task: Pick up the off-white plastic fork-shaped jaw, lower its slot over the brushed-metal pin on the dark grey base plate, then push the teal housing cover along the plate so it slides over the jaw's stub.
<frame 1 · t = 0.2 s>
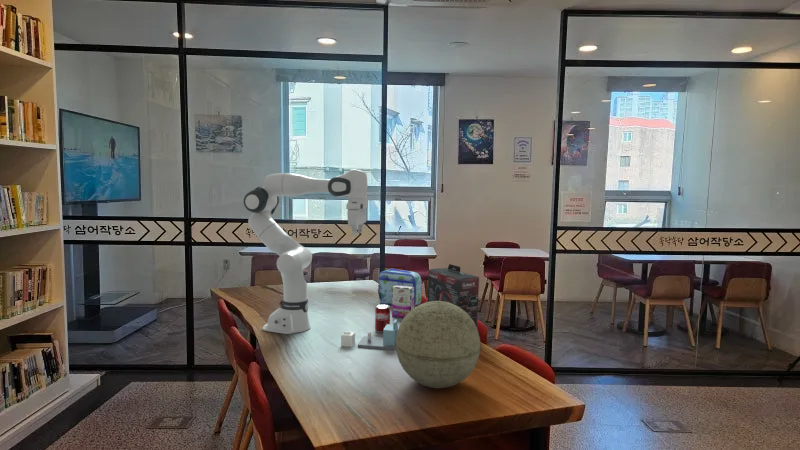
hand: (357, 234, 214), 47 cm above the table, fingers open, 8 cm apart
soda can: (382, 330, 223), on the table
candy bar box: (402, 317, 246), on the table
jaw: (348, 344, 203), on the table
plate: (378, 344, 204), on the table
headset box: (451, 333, 220), on the table
cover: (390, 331, 202), point 6 cm above the table, slide at 0.0 cm
lunch box: (398, 305, 270), on the table
celestial globe: (436, 384, 165), on the table
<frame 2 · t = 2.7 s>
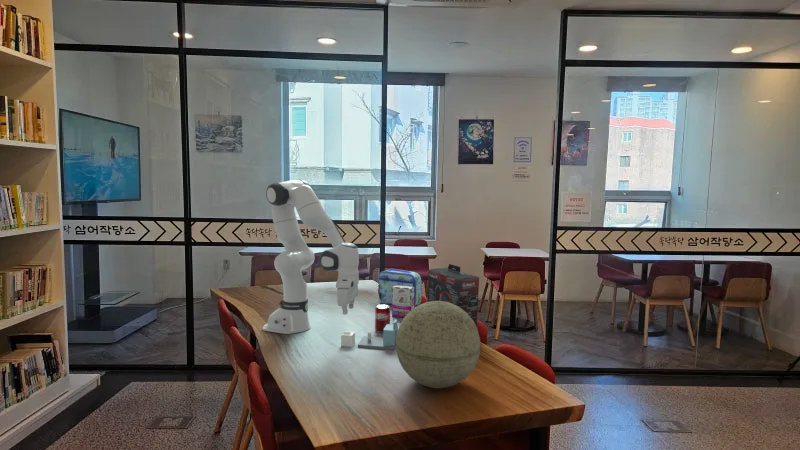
hand: (348, 311, 202), 15 cm above the table, fingers open, 8 cm apart
nothing on the table moved.
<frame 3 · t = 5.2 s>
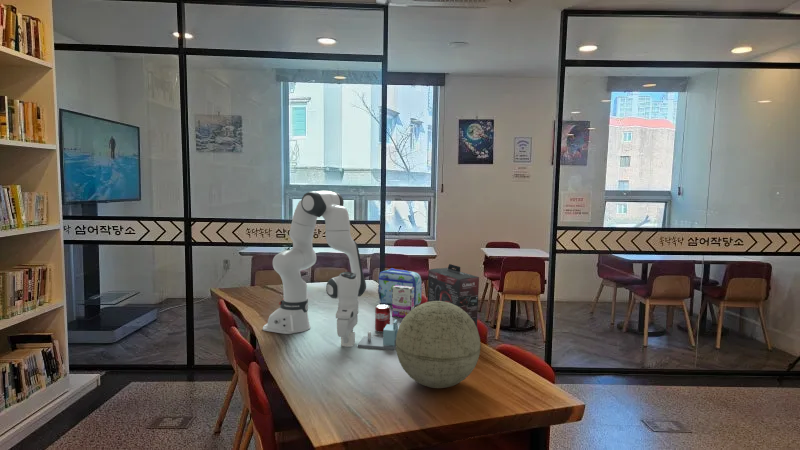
hand: (348, 340, 203), 2 cm above the table, fingers closed on jaw, 5 cm apart
jaw: (348, 344, 203), on the table, touching gripper
everything else where it was.
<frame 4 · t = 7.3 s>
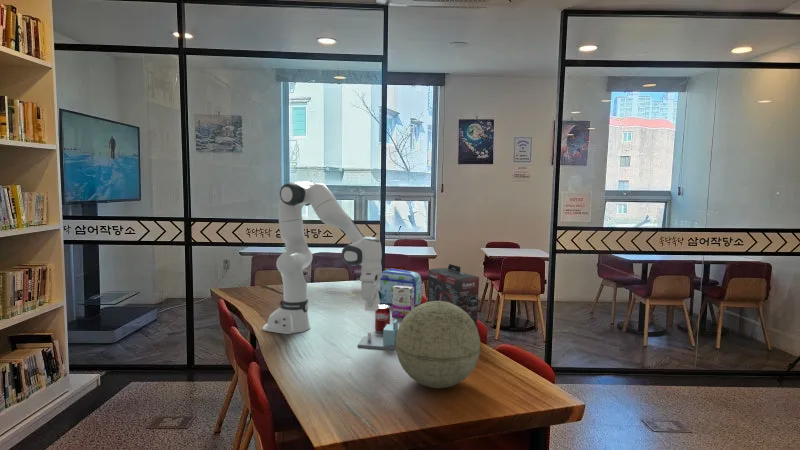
hand: (371, 304, 202), 18 cm above the table, fingers closed on jaw, 5 cm apart
jaw: (372, 309, 202), point 16 cm above the table, touching gripper
everything else where it was.
when the fingers open (4 cm above the table, at t = 9.5 s): jaw stays where it is, resting on plate.
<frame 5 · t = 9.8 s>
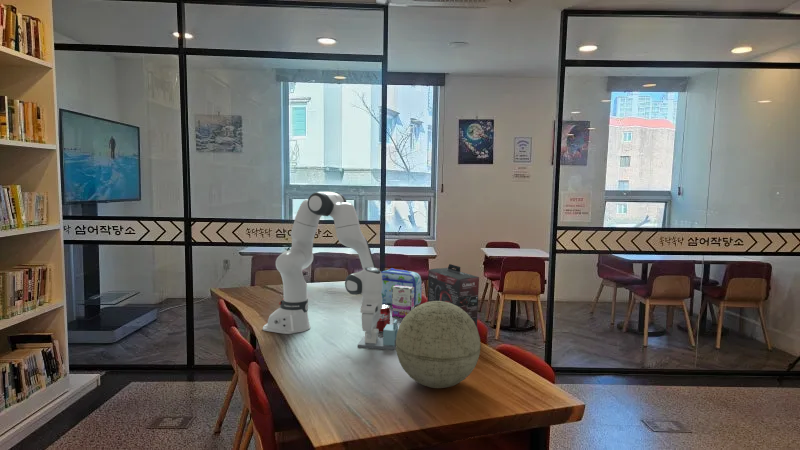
hand: (371, 334, 204), 4 cm above the table, fingers open, 7 cm apart
jaw: (371, 341, 204), point 1 cm above the table, touching plate
everything else where it was.
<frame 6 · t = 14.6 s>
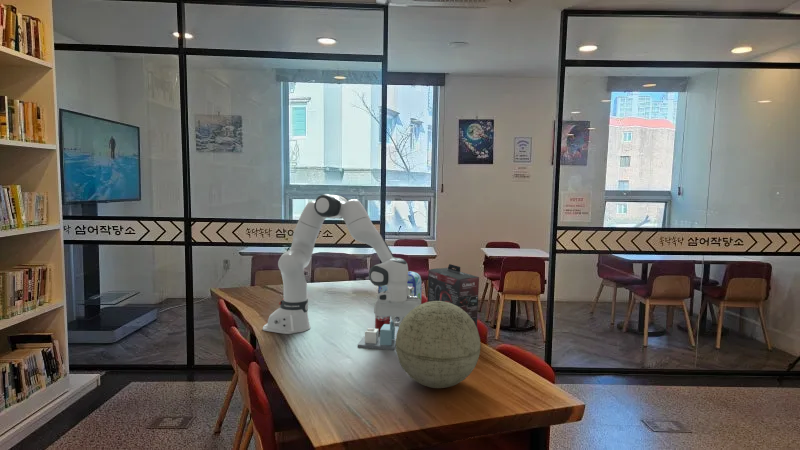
hand: (396, 326, 202), 9 cm above the table, fingers closed
cover: (387, 331, 203), point 6 cm above the table, slide at 1.4 cm, touching gripper
everything else where it was.
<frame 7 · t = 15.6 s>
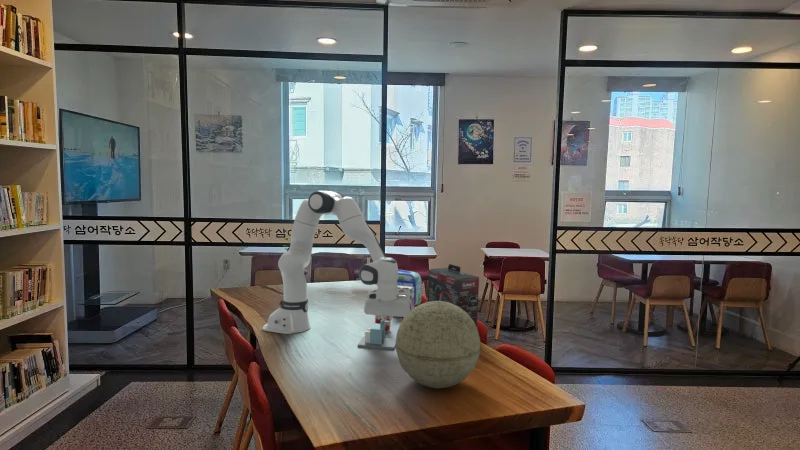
hand: (386, 325, 202), 9 cm above the table, fingers closed
cover: (377, 330, 203), point 6 cm above the table, slide at 5.8 cm, touching gripper
everything else where it was.
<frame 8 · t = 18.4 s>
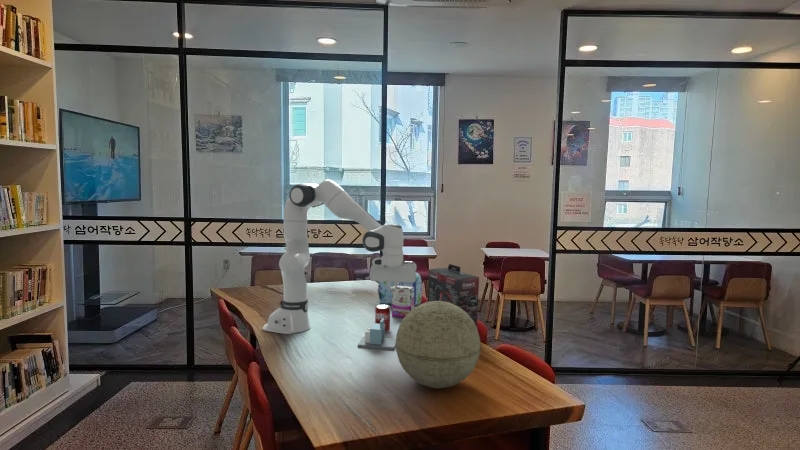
hand: (392, 291, 201), 24 cm above the table, fingers closed
cover: (377, 330, 203), point 6 cm above the table, slide at 5.9 cm
everything else where it was.
at the end: jaw 0.1 cm from the target spot on the plate, point 1.2 cm above the plate's base; jaw tilted 0°; cover slide at 5.9 cm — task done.
